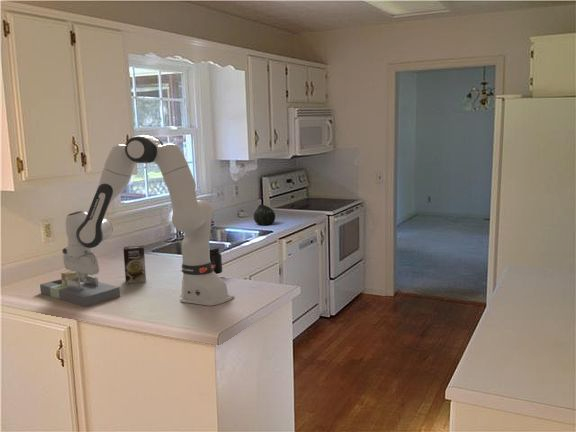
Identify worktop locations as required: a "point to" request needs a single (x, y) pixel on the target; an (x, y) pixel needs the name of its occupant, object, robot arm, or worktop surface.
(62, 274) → the maple block
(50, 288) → the tunnel deck
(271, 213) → the squash
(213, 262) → the supplement bottle
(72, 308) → the worktop surface
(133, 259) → the coffee box
